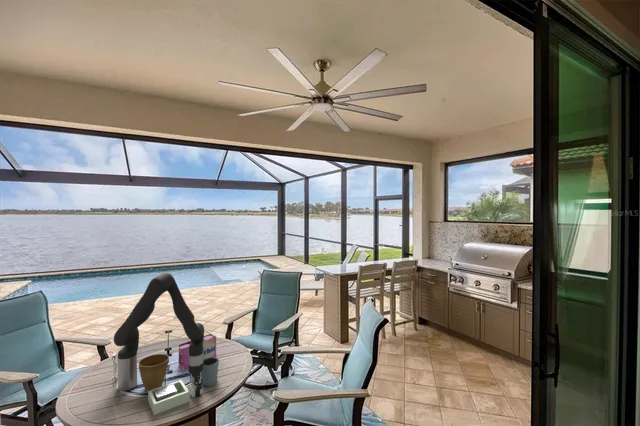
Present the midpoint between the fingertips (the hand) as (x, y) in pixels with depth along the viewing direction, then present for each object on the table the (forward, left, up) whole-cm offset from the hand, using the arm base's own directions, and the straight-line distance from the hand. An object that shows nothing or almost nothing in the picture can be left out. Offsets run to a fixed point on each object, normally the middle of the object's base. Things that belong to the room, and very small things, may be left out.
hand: (195, 393), depth 161 cm
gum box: (-37, +13, -1) cm, 40 cm away
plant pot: (-21, -16, -1) cm, 26 cm away
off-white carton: (0, 0, -1) cm, 1 cm away
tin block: (-2, -15, 0) cm, 15 cm away
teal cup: (-8, +10, -1) cm, 13 cm away
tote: (-2, -13, -1) cm, 13 cm away
